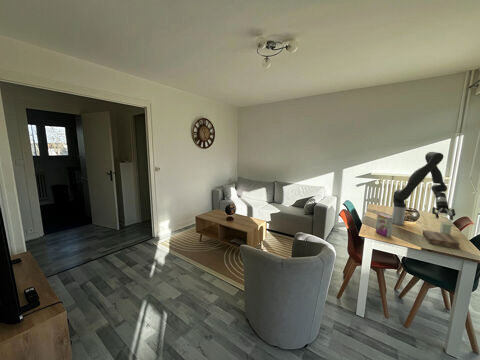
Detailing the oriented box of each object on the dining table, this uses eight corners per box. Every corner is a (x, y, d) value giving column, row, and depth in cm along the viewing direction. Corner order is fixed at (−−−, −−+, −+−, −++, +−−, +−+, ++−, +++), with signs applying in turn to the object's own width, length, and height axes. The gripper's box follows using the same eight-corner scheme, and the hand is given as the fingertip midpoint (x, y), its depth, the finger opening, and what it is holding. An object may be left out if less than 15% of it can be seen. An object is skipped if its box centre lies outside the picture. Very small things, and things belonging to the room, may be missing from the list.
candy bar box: (375, 232, 178) (377, 213, 175) (380, 231, 179) (382, 213, 176) (386, 237, 167) (388, 218, 164) (391, 237, 168) (393, 217, 165)
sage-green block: (441, 235, 171) (443, 224, 170) (439, 233, 175) (441, 222, 174) (449, 236, 169) (451, 225, 167) (447, 234, 173) (449, 223, 172)
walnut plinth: (429, 243, 156) (430, 238, 155) (422, 234, 173) (423, 230, 172) (458, 248, 148) (459, 243, 147) (448, 238, 165) (448, 233, 165)
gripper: (432, 199, 184) (434, 215, 176) (454, 201, 177) (458, 218, 169) (429, 204, 189) (432, 219, 181) (451, 206, 182) (454, 222, 174)
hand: (444, 219), depth 175 cm, fingers open, 8 cm apart
